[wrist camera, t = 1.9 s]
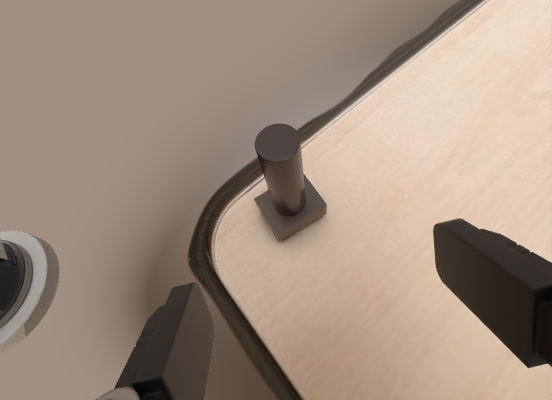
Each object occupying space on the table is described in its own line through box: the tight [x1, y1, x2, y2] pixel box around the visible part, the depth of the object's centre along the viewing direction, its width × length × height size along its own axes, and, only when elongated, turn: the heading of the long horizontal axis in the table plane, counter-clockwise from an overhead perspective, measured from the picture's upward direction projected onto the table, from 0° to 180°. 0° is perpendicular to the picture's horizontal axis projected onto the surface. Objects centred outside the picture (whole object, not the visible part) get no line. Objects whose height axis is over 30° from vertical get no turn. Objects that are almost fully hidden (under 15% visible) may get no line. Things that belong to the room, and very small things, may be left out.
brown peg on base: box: [254, 124, 326, 241], centre depth 23 cm, size 5×4×12 cm
